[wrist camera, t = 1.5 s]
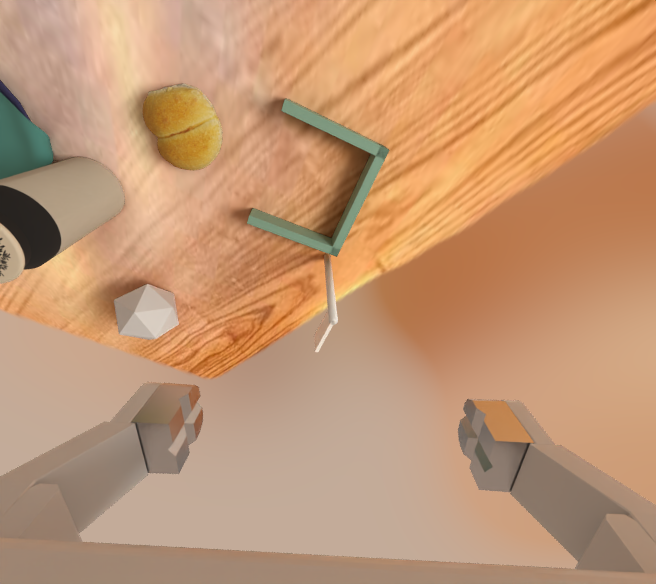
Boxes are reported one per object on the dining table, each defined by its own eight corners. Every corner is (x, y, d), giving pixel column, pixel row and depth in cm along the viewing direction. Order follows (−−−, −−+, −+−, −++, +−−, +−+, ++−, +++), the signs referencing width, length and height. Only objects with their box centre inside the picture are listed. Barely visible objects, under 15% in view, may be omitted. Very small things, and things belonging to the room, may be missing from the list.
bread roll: (175, 173, 41) (163, 181, 38) (138, 94, 36) (121, 95, 33) (235, 159, 41) (228, 165, 37) (206, 77, 36) (196, 76, 32)
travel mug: (137, 190, 42) (40, 249, 27) (107, 229, 45) (4, 301, 30) (77, 142, 38) (-73, 178, 23) (48, 186, 41) (-103, 245, 26)
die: (148, 263, 49) (87, 302, 43) (189, 293, 47) (131, 338, 41) (160, 293, 55) (108, 330, 49) (196, 321, 54) (147, 363, 48)
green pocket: (286, 98, 37) (272, 105, 24) (384, 146, 40) (420, 176, 27) (238, 255, 48) (209, 321, 34) (318, 283, 51) (321, 352, 38)
